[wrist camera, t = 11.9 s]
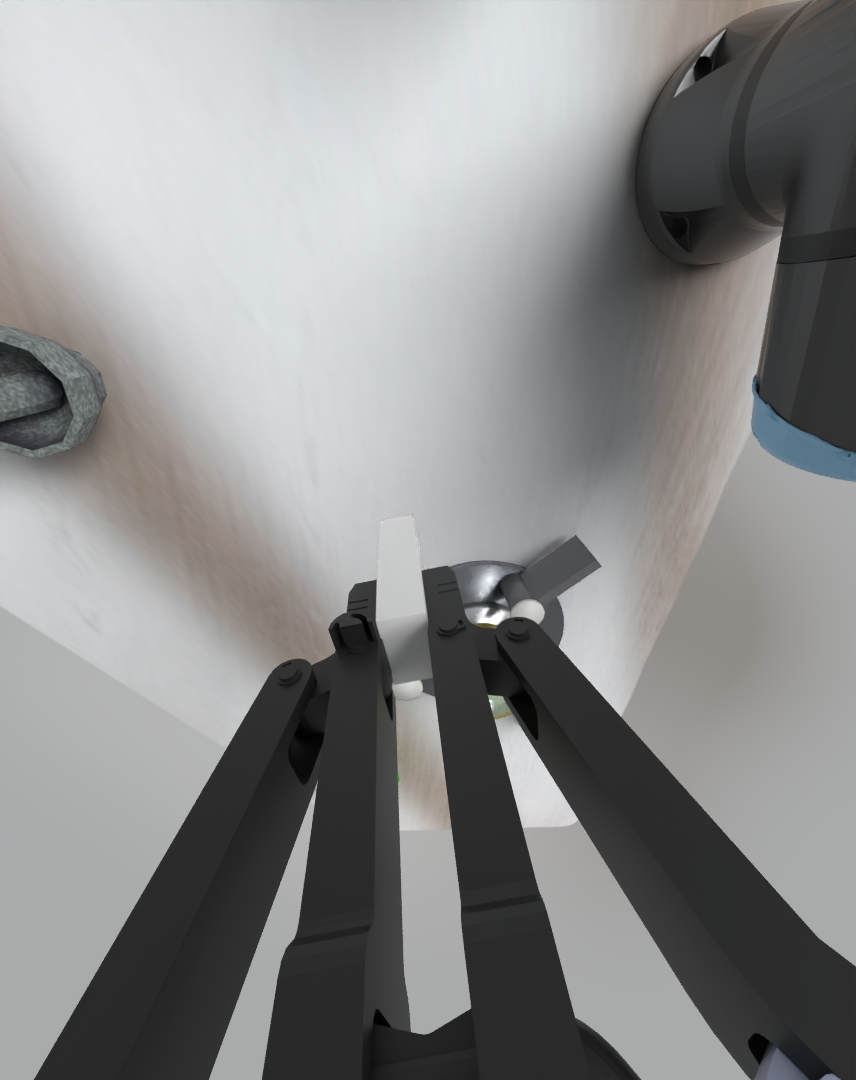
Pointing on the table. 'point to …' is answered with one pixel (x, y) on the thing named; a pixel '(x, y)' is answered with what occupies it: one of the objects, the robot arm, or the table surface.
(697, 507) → the table surface
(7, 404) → the mortar and pestle
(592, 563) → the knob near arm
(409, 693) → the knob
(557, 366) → the table surface
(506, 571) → the tribrach
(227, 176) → the table surface
